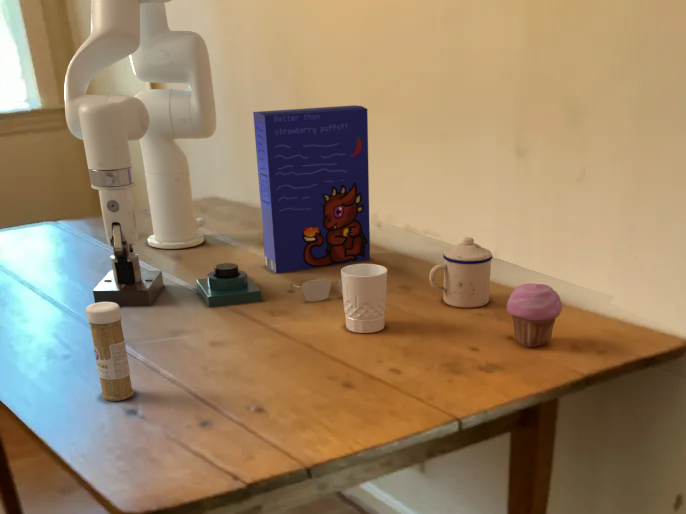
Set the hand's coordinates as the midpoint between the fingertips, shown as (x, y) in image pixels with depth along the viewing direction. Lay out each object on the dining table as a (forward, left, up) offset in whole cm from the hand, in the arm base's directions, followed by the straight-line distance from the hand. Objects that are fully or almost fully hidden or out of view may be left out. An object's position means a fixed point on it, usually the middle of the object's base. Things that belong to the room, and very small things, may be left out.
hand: (128, 278), depth 171 cm
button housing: (-8, +17, -3) cm, 19 cm away
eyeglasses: (-17, +34, -4) cm, 38 cm away
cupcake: (-6, +78, -4) cm, 78 cm away
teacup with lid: (-22, +59, -4) cm, 63 cm away
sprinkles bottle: (+40, +29, -4) cm, 50 cm away
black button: (-8, +17, 0) cm, 19 cm away
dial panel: (0, 0, -3) cm, 3 cm away
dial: (0, 0, 0) cm, 0 cm away
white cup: (-2, +49, -4) cm, 49 cm away
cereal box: (-35, +22, -4) cm, 42 cm away
